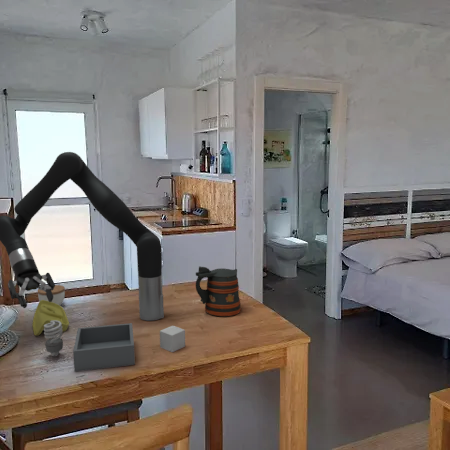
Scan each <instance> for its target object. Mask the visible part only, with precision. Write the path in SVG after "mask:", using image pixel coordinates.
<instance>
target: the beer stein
mask: <svg viewBox="0 0 450 450" xmlns="http://www.w3.org/2000/svg"><path fill="white" fill-rule="evenodd" d="M195 276H196V277H197V278H196V281H195V290H196V293H197V295H198V297H200V302H201V303H202V304H203V305H204V311H205V312H206V314H209V315H211V316H215V317H232V316H236V315H237V314H239V313H240V312H241V310H242V309H241V299H240V293H239V288H240V287H239V286H240V285H239V278H238V269H237V268H235V269H234V268H233V269H229V268H222V267H221V268H216V269H212V270H210V269H209V268H208V267H205V266H198V271H197V272H195ZM206 278H207V280H206V281H207V282H206V289H203V288H202V287H201V281H202V280H203V279H206Z"/></svg>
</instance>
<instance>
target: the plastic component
mask: <svg viewBox="0 0 450 450" xmlns="http://www.w3.org/2000/svg"><path fill="white" fill-rule="evenodd" d="M65 311H66V310H65V309H64V308H63V307H62V306H61V305H58V304H56V303H53V302H49V301H45V300H41V301H38V304H37V306H36V309H35V312H34V314H33V319H32V324H31V325H32V331H33V334H34V336H38V337H39V336H40V335H41V334H42V333H43V331H44V325H45V324H48V323H50V321H52V320H56V321H60V322H61V324H62V325H61V326H62V330H63V331H62V333H64V332H67V330H68V328H69V325H70V322H69V321H70V320H69V319H68V316H67V314H66V312H65ZM58 324H59V323H58ZM54 326H56V325H54ZM57 330H58V329H57Z"/></svg>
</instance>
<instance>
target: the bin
mask: <svg viewBox="0 0 450 450" xmlns="http://www.w3.org/2000/svg"><path fill="white" fill-rule="evenodd" d="M133 331H134V330H133V322H130V323H119V324H108V325H107V324H106V325H97V326H86V327H78V328H77V330H76V336H75V341H74V345H73V351H72V354H73V355H72V356H73V369H74V370H73V372H82V371H90V370H98V369H99V370H101V369H109V368H116V367H117V368H118V367H125V366H134V365H136V361H135V360H136V359H135V341H134V338H135V337H134V332H133Z"/></svg>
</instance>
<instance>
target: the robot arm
mask: <svg viewBox="0 0 450 450" xmlns="http://www.w3.org/2000/svg"><path fill="white" fill-rule="evenodd" d="M69 180H70V181H72V182H73V183H74V184H75V185H76V186H78V188H80V190H81V191H82V192H83V193H84V195H85V196H86V198H87V199H88V201H89V202H90V203H91V205H92V206H93V208H95V210H96V211H97V212H98V213H99V215H100V216H102V217H103V218H104V219H105V220H106V221H107V222H109V223H110V224H111V225H113V226H114V227H116V228H117V229H118V230H120V231H121V232H123V233H124V234H125V236H127V237H128V238H129V239H130V240H131V242H132V243H133V244H134V245H135V247H136V258H137V260H136V262H137V278H138V279H137V281H138V283H137V284H138V285H137V286H138V303H139V305H138V306H139V307H138V309H139V312H138V313H139V319H140V320H142V321H146V322H147V321H157V320H160V319H164V315H165V313H164V312H165V311H164V308H165V307H164V294H163V260H162V259H163V258H162V257H163V256H162V243H161V240H160V238H159V237H158V236H157V235H156V234H155V233H154V232H152V231H151V230H150V229H149V228H148V227H146V226H145V224H143V223H142V222H141V221H140V220H139V219H138V218H137V216H136V215H135V214H134V213H133V212H132V210H131V209H130V208H129V207H128V206H127V204H125V202H124V201H123V200H122V199H121V198H120V197H119V195H117V193H115V192H114V191H113V190H112V189H111V188H109V186H107V185H106V184H105V183H104V182H103V181H102V180H100V179H99V178H98V177H97V176H96V175H95V174H94V173H93V172H92V170H91V169H90V168H89V167H88V165H87V164H86V163H85V162H84V160H83V159H82V157H81V156H80V155H79V154H77V153H76V152H72V151H67V152H65V151H64V152H62V153H60V154H59V155H57V157H56V158H55V160H54V162H53V163H52V165H51V167H50V168H49V169H48V171H47V172H46V174H45V175H44V176H43V177H42V179H40V181H38V183H37V184H35V186H34V187H33V188H31V189H30V191H28V192H27V193H26V194H25V196H23V197H22V198H21V199H20V201H19V202H17V204H15V206H14V208H13V210H14V212H15V214H17V215H16V217H15V218H13V217H11V216H8V215H0V242H1V244H2V245H3V246H4V248H5V250H6V253H7V255H8V259H9V263H10V266H11V269H12V272H13V274H14V277H15V279H16V280H12V279H9V280H8V283H7V289H8V292H9V295H10V298H11V299H17V300H18V302H19V305H20V307H22V308H23V309H26V308H27V307H28V303H27V301H26V298H25V296H24V293H25V291H27V292H30V291H33V290H34V291H35V290H38V289H40V290H43V291H45V292H46V296H47V298H48V301H49V302H52V300H53V294H52V292H51V290H53V289H54V287H55V285H56V284H55V281H54V280H53V278H52V276H51V274H50V272H46V273H45V274H43V275H42V274H40V272H39V268H38V267H37V264H36V261H35V258H34V257H33V254H32V252H31V251H30V249H29V246H28V243H27V241H26V239H25V238H24V237H22V235H23V234H24V233H25V232H26V230H27V228H28V226H29V224H30V222H31V221H32V219H33V218H34V216H35V215H36V214H37V213H39V211H40V210H41V209H42V208H43V207H44V206H45V204H47V202H48V201H49V199H50V198H52V196H53V195H54V193H56V191H57V190H58V189H59V188H60V187H61V186H63V185H64V184H65V183H66V182H68V181H69ZM16 285H17V286H18V287H20V290H19V292H17V291H16Z"/></svg>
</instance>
